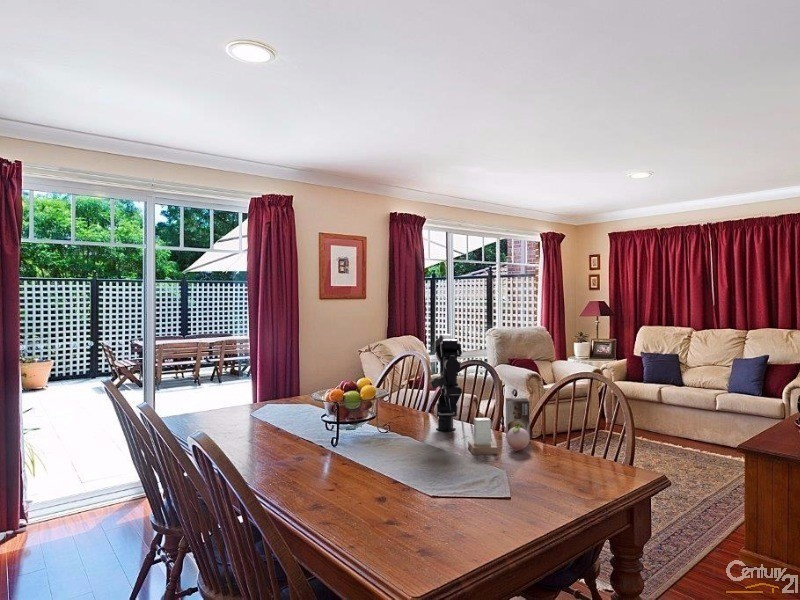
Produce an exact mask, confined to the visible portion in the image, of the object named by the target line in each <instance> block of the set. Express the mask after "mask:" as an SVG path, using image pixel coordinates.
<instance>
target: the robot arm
mask: <svg viewBox="0 0 800 600" xmlns="http://www.w3.org/2000/svg"><path fill="white" fill-rule="evenodd" d="M434 353H435V355H436V356H435V357H436V359H437V360H438V362H439V373H440V375H439V376H437V377H434V378H431V379H429V380H428V382H429V386H430V387H431V388H432V390H435V389H437V388H438V387H439V389H440V395H439V396H438V399H437V402H436V404H435V405H436V407H435V415H436V417H437V418H438V421H437V423H438V424H437V428H435V430H437V431H440V432H444V433H448V432H449V433H450V432H451V431H455V430H456V427H454V418H455V417H457V416H458V405H457V404H458V402H459V399H460V397H461V396H462V394H463V389H462V388H461V387H460V386H459V383H458V376H459V373H458V372H459V371H460V369H461V363H460V361H459V360H458V358H460V357H462V355H463V350H462V346H461V344H460V341H458V339H454V338H453V337H452V334H450V333H440V334H439V337H438V338H437V339H436V340H435V342H434Z"/></svg>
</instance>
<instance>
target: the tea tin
mask: <svg viewBox="0 0 800 600" xmlns="http://www.w3.org/2000/svg"><path fill="white" fill-rule="evenodd" d="M473 441H474V444H475V445H476V446H491V441H492V420H491V419H490V418H489V417H474V418H473Z"/></svg>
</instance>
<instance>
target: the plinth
mask: <svg viewBox="0 0 800 600" xmlns="http://www.w3.org/2000/svg"><path fill="white" fill-rule="evenodd" d="M467 447H468V449H469V451H470V452H471V454H472V455H474V456H475V455H476V456H477V455H498V446H497V445H496V444H495V443H494V442H493V441H492V440H491V446H476V445H475V444H474V440H469V441H467Z"/></svg>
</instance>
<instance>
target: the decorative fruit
mask: <svg viewBox="0 0 800 600" xmlns="http://www.w3.org/2000/svg"><path fill="white" fill-rule="evenodd" d="M506 439H507V443H508V445H509V446H510V448H511V449H513V450H514V451H516V452H519V451H522V450H523V449H525V448H526V447H527V446H528V445H529V443H530V440H529V434H528V432H527V431H526V430H525V429H523V428H521V427H520V426H518V425H517V426H515V427H514V428H511V429H510V430H509V431H508V434H507V437H506Z"/></svg>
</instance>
